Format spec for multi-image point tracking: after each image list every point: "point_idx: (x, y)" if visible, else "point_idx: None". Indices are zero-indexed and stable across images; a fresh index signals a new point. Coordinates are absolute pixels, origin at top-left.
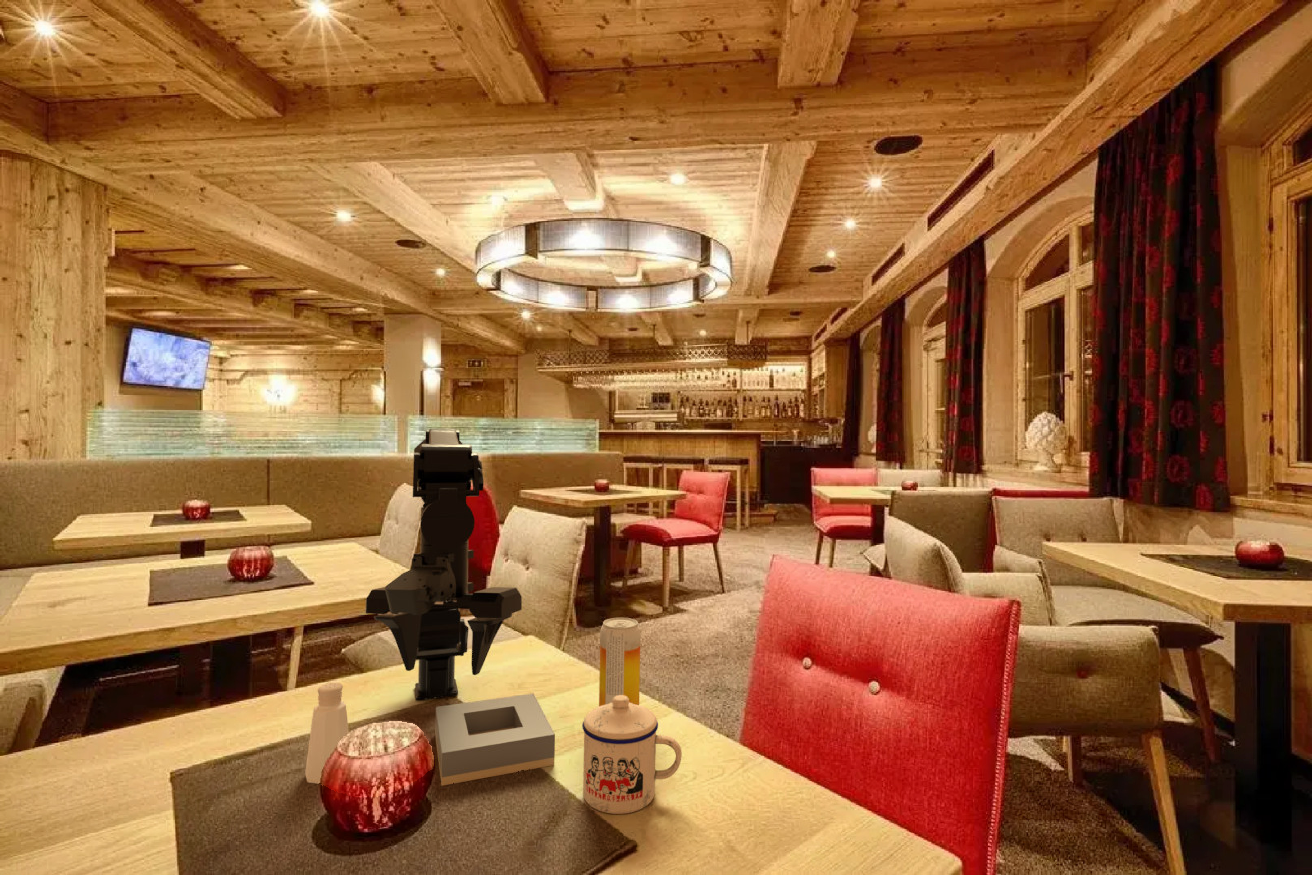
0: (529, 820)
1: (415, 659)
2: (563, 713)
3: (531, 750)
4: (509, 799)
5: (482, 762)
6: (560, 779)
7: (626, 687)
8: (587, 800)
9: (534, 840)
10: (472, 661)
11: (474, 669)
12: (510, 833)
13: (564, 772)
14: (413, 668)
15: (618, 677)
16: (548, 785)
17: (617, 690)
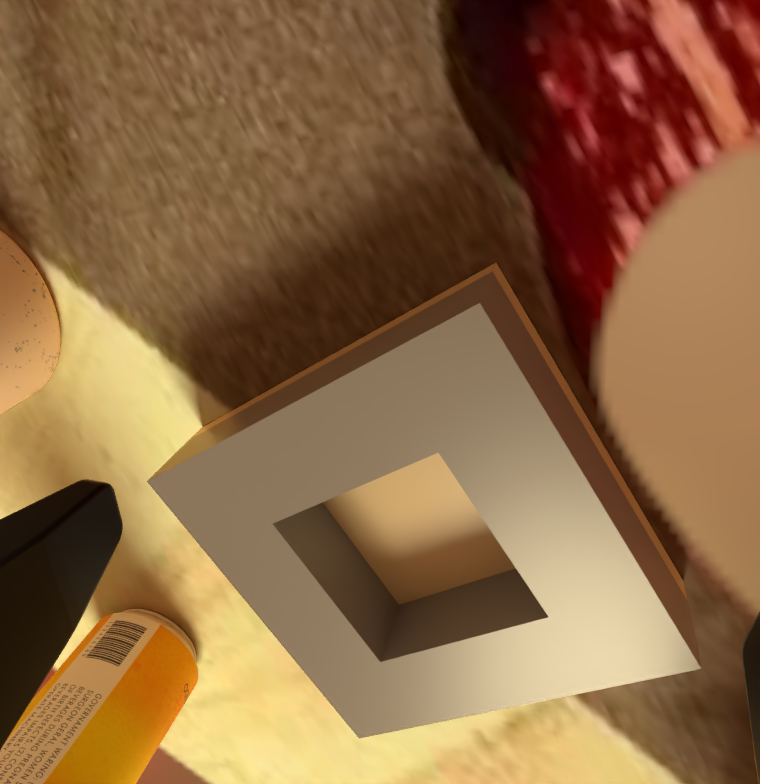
0: (115, 121)
1: (755, 736)
2: (314, 689)
3: (224, 428)
4: (230, 223)
5: (360, 351)
6: (148, 355)
7: (31, 706)
8: (4, 239)
9: (46, 16)
10: (17, 546)
11: (56, 500)
12: (129, 32)
13: (157, 392)
14: (745, 647)
15: (23, 736)
16: (163, 319)
17: (57, 697)
